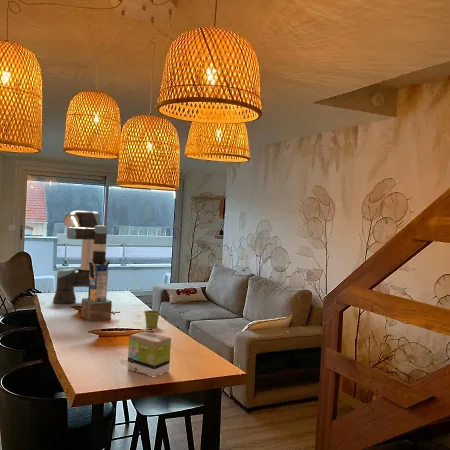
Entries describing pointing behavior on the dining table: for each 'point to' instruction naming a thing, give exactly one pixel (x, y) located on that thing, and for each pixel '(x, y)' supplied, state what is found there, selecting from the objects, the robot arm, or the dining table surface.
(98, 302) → the box lid
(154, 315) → the plant pot
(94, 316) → the storage box
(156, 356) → the tea box
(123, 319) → the dining table surface
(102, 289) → the beverage box
